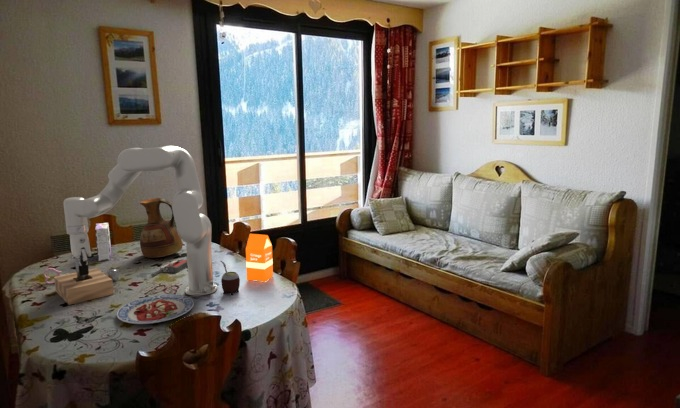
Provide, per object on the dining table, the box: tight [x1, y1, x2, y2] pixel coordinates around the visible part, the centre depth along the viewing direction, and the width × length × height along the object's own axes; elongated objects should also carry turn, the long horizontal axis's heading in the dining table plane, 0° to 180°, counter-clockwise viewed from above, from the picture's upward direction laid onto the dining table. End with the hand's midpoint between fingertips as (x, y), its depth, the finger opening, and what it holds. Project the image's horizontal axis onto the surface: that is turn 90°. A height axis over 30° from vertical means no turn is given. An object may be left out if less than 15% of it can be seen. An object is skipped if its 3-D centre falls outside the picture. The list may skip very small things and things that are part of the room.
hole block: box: [53, 267, 115, 306], centre depth 185 cm, size 20×16×6 cm
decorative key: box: [43, 267, 70, 285], centre depth 199 cm, size 7×1×20 cm
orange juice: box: [245, 233, 274, 282], centre depth 199 cm, size 8×9×20 cm
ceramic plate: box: [116, 293, 194, 325], centre depth 166 cm, size 26×26×3 cm
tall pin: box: [74, 256, 89, 282], centre depth 184 cm, size 4×4×12 cm
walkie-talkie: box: [150, 258, 188, 277], centre depth 212 cm, size 9×4×20 cm
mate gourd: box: [220, 260, 241, 296], centre depth 183 cm, size 8×8×15 cm
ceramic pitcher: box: [139, 197, 183, 259], centre depth 233 cm, size 20×20×30 cm
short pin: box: [107, 268, 120, 284], centre depth 198 cm, size 4×4×5 cm
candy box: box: [95, 222, 112, 262], centre depth 233 cm, size 14×6×16 cm, turn 25°
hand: (82, 272), depth 184 cm, fingers closed on tall pin, 4 cm apart
